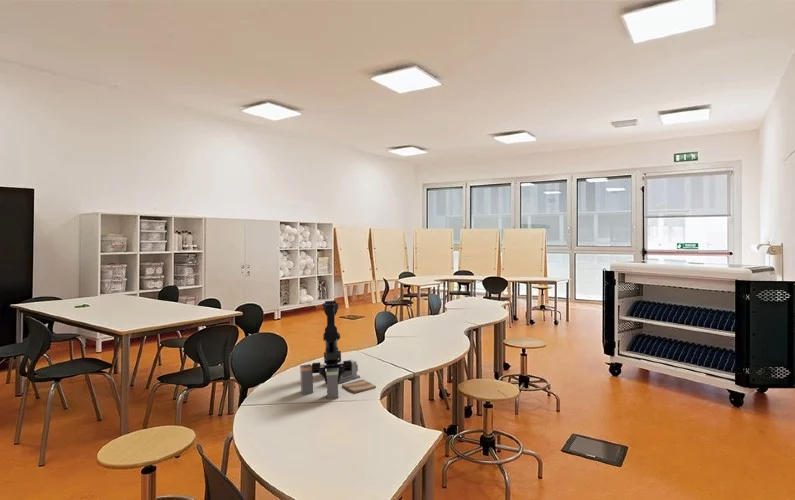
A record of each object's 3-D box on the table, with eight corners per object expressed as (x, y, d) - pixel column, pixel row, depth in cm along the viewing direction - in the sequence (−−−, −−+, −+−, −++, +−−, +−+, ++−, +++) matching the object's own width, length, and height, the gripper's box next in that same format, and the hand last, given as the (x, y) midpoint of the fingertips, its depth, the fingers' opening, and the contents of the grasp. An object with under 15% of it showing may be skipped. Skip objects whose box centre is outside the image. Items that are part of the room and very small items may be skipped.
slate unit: (329, 380, 228) (328, 364, 228) (351, 374, 237) (350, 358, 237) (337, 384, 222) (337, 367, 222) (360, 377, 231) (359, 361, 231)
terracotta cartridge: (300, 390, 214) (299, 365, 213) (311, 389, 216) (310, 364, 215) (302, 394, 209) (301, 368, 209) (313, 392, 211) (312, 367, 210)
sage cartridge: (327, 394, 208) (326, 368, 207) (338, 393, 209) (337, 368, 208) (327, 399, 203) (326, 372, 202) (338, 398, 204) (337, 371, 203)
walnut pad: (342, 386, 219) (342, 384, 218) (363, 381, 226) (363, 379, 225) (354, 393, 209) (354, 391, 209) (375, 387, 216) (375, 385, 216)
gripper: (311, 346, 207) (311, 377, 197) (351, 343, 210) (353, 374, 200) (312, 357, 215) (312, 388, 205) (350, 355, 218) (352, 385, 208)
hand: (332, 383), depth 204 cm, fingers closed on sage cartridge, 5 cm apart
